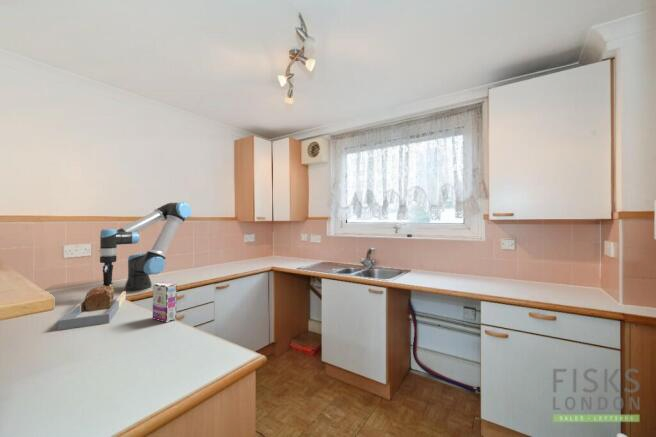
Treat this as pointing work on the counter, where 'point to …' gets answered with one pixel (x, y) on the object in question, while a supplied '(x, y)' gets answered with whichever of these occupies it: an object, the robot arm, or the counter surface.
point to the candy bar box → (164, 301)
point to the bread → (99, 298)
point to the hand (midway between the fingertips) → (107, 295)
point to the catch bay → (72, 322)
